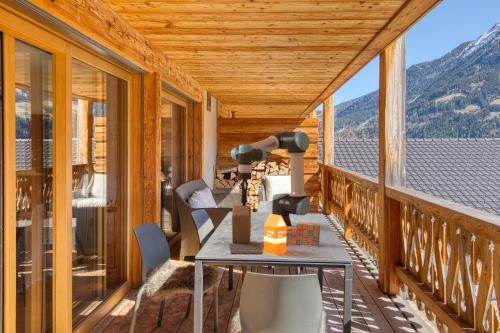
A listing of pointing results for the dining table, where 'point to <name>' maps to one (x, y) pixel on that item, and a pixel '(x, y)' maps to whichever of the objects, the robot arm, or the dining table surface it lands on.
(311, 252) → the dining table surface
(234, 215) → the wooden block
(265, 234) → the orange juice
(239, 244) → the mat
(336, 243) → the dining table surface
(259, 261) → the dining table surface
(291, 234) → the stack of blocks
